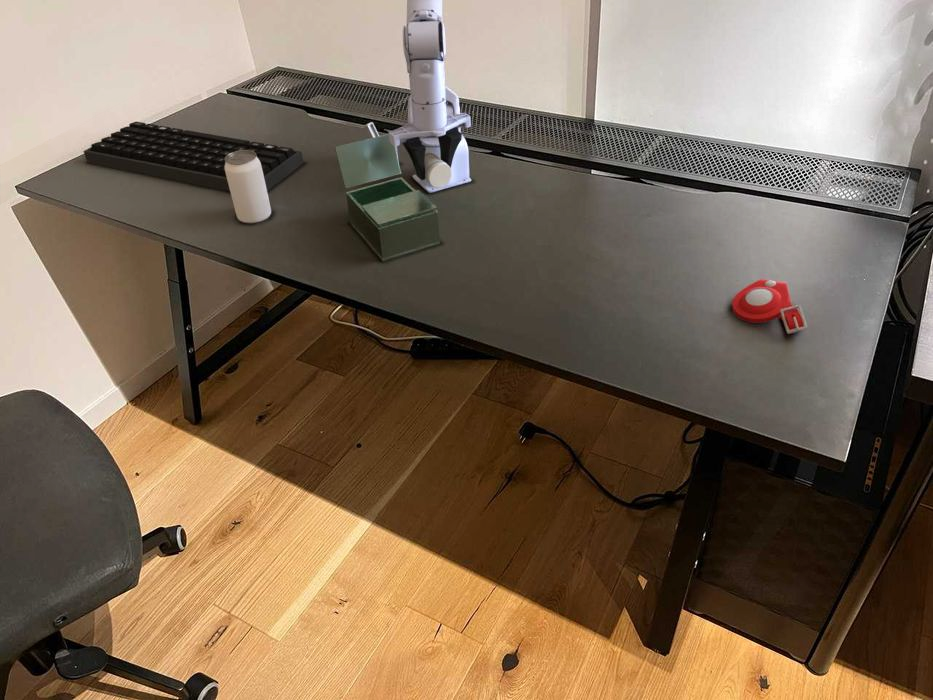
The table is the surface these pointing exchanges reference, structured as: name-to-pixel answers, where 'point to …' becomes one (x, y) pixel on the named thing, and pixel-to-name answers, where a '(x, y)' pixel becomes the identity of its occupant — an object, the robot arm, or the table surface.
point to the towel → (436, 170)
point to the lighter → (373, 132)
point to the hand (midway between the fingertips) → (433, 174)
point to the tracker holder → (768, 305)
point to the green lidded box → (393, 218)
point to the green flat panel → (367, 161)
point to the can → (247, 186)
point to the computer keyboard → (186, 155)
